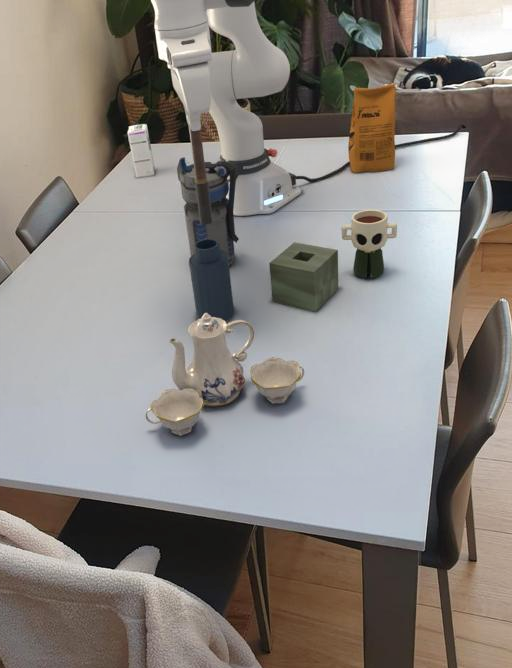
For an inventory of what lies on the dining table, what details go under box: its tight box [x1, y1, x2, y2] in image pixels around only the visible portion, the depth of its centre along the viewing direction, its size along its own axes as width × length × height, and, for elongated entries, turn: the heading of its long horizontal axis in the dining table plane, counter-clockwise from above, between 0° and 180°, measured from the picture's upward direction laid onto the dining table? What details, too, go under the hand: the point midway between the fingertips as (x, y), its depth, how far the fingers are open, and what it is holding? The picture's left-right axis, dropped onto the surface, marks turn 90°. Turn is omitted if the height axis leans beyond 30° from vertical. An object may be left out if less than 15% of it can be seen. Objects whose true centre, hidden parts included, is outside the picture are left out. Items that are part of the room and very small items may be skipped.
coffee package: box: [347, 83, 397, 174], centre depth 194 cm, size 10×12×22 cm
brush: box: [187, 112, 213, 225], centre depth 129 cm, size 2×2×22 cm
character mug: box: [341, 208, 398, 279], centre depth 148 cm, size 11×7×13 cm, turn 78°
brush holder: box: [268, 241, 339, 313], centre depth 146 cm, size 10×10×9 cm
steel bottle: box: [188, 239, 235, 322], centre depth 143 cm, size 8×8×16 cm
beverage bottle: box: [176, 156, 240, 267], centre depth 158 cm, size 10×13×25 cm
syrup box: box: [127, 123, 156, 178], centre depth 218 cm, size 6×6×14 cm
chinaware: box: [145, 313, 305, 437], centre depth 118 cm, size 28×17×17 cm, turn 114°
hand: (194, 127), depth 125 cm, fingers closed on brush, 2 cm apart
